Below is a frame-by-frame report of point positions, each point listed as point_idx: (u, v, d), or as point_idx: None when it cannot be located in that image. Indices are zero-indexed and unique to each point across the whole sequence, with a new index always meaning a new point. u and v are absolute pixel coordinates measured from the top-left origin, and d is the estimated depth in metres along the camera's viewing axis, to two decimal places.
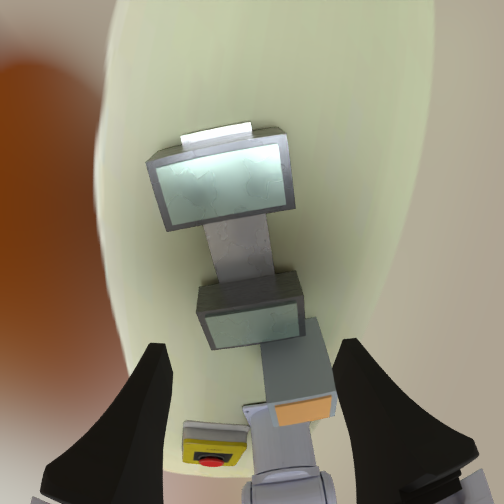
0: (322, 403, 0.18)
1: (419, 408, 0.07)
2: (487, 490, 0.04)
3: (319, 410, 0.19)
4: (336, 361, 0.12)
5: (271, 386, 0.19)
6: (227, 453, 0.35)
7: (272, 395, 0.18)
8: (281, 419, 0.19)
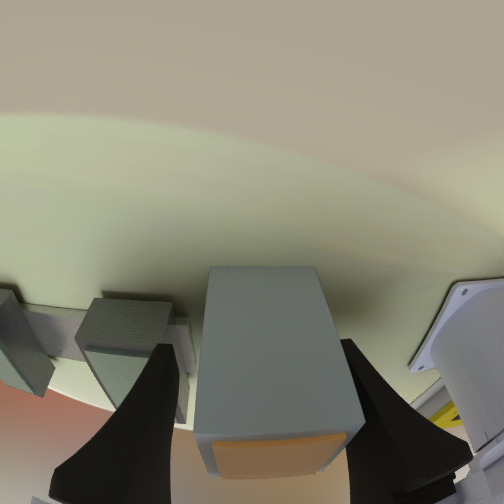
0: (240, 454, 0.07)
1: (413, 410, 0.07)
2: (486, 490, 0.04)
3: (278, 455, 0.07)
4: None
5: None
6: None
7: None
8: (281, 476, 0.08)
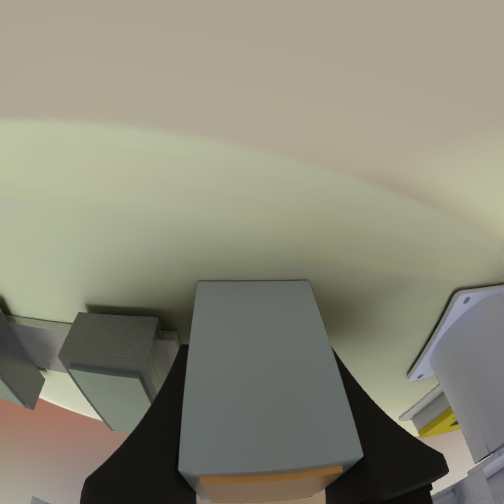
0: (230, 488, 0.06)
1: (386, 417, 0.07)
2: (486, 490, 0.04)
3: (270, 487, 0.06)
4: None
5: None
6: None
7: None
8: (275, 500, 0.07)
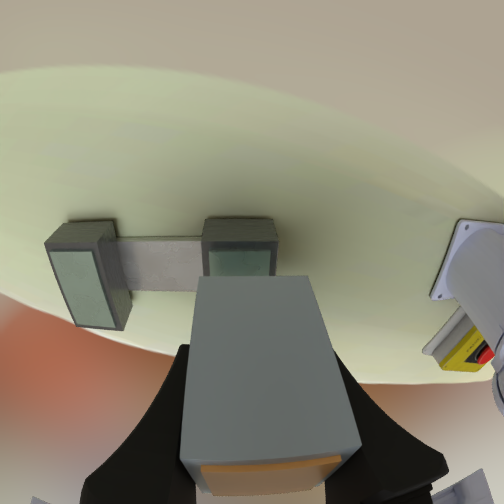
0: (230, 477, 0.06)
1: (386, 417, 0.07)
2: (486, 490, 0.04)
3: (270, 477, 0.06)
4: None
5: None
6: None
7: None
8: (275, 492, 0.08)
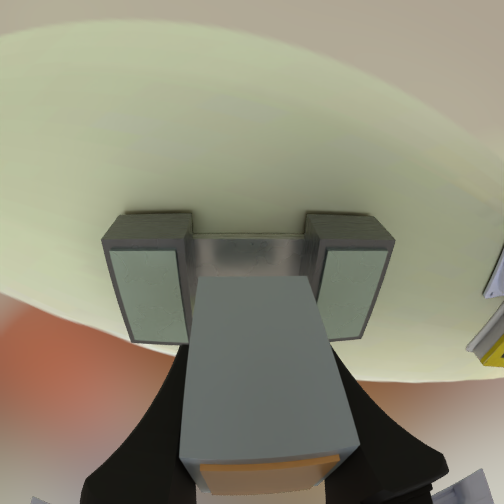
0: (229, 476, 0.06)
1: (386, 417, 0.07)
2: (486, 490, 0.04)
3: (269, 476, 0.06)
4: None
5: None
6: None
7: None
8: (274, 492, 0.08)
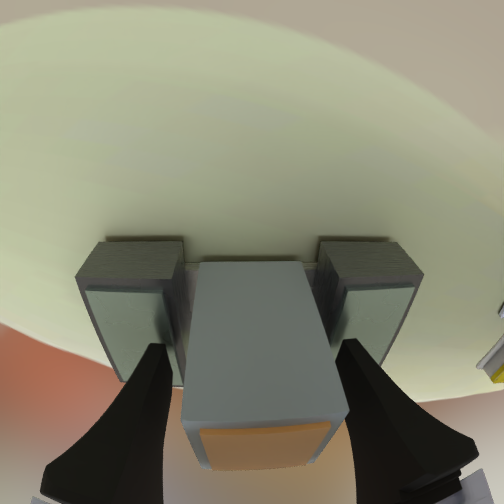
0: (227, 443, 0.07)
1: (419, 408, 0.07)
2: (487, 490, 0.04)
3: (265, 443, 0.07)
4: (336, 361, 0.12)
5: None
6: None
7: None
8: (271, 467, 0.09)
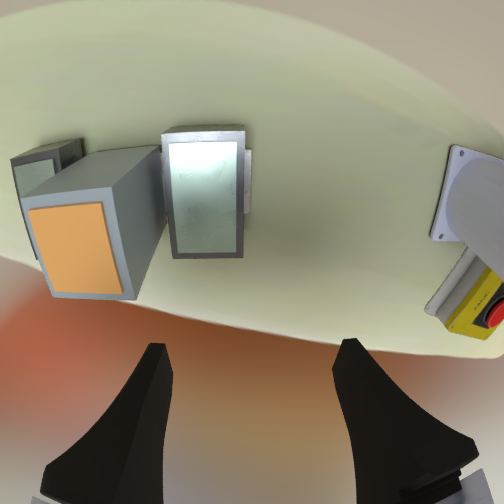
0: (43, 224, 0.09)
1: (419, 408, 0.07)
2: (486, 490, 0.04)
3: (65, 227, 0.09)
4: (336, 361, 0.12)
5: None
6: (498, 287, 0.21)
7: None
8: (93, 288, 0.11)
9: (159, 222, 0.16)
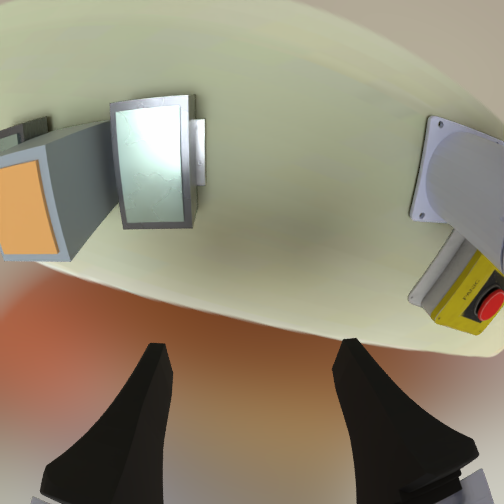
0: None
1: (419, 408, 0.07)
2: (486, 490, 0.04)
3: (9, 187, 0.08)
4: (336, 361, 0.12)
5: None
6: (490, 276, 0.20)
7: None
8: (33, 248, 0.10)
9: (111, 192, 0.15)
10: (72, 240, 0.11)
